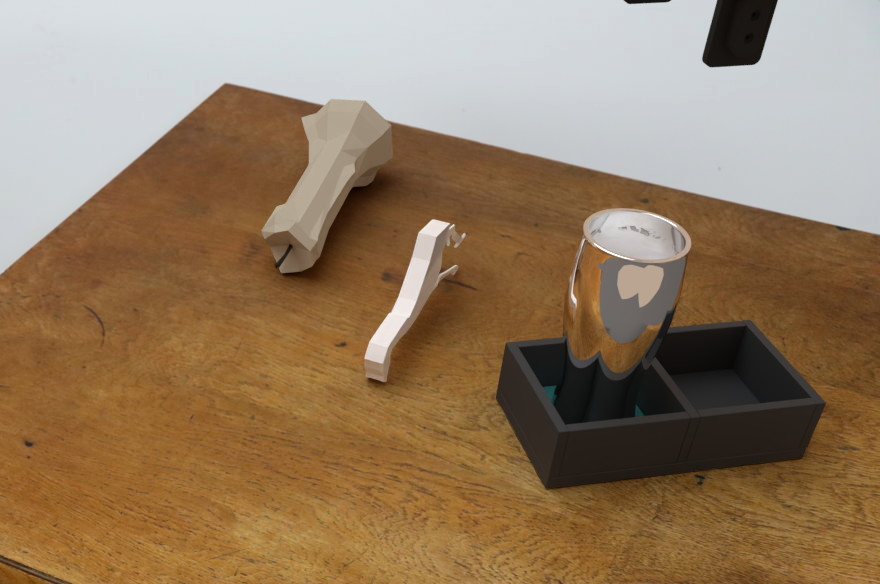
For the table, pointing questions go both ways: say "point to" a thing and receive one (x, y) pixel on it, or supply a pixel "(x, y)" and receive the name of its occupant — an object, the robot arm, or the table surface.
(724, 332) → the divided box
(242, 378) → the table surface
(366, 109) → the faceted club
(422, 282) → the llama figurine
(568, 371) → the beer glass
